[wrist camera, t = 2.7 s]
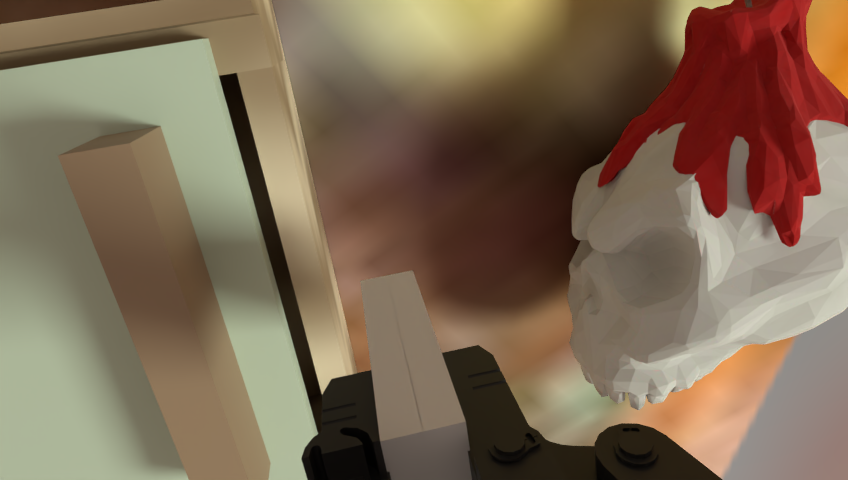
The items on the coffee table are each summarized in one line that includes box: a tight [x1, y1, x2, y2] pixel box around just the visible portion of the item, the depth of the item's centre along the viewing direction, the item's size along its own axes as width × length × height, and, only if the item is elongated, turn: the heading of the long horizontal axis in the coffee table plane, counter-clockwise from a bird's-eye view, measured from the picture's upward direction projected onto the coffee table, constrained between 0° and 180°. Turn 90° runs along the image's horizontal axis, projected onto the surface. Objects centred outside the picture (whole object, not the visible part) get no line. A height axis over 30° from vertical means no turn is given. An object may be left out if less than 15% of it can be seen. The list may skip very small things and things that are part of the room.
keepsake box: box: [0, 0, 357, 434], centre depth 19 cm, size 18×17×6 cm
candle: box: [567, 0, 848, 410], centre depth 20 cm, size 9×11×15 cm
